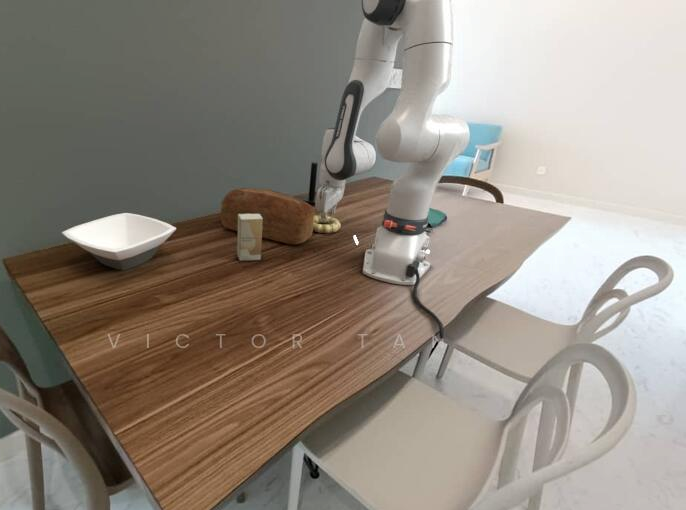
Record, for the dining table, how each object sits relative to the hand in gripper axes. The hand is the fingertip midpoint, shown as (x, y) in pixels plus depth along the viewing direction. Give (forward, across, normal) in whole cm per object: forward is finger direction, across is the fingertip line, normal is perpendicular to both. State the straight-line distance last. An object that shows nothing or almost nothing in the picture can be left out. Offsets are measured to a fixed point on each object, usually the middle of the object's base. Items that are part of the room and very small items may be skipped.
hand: (327, 218), depth 138 cm
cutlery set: (+2, +20, -28) cm, 35 cm away
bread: (+2, -20, +14) cm, 24 cm away
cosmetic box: (+2, -39, +10) cm, 40 cm away
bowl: (+2, -57, +38) cm, 68 cm away
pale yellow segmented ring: (+1, -5, 0) cm, 5 cm away
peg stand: (+2, +21, +14) cm, 25 cm away
